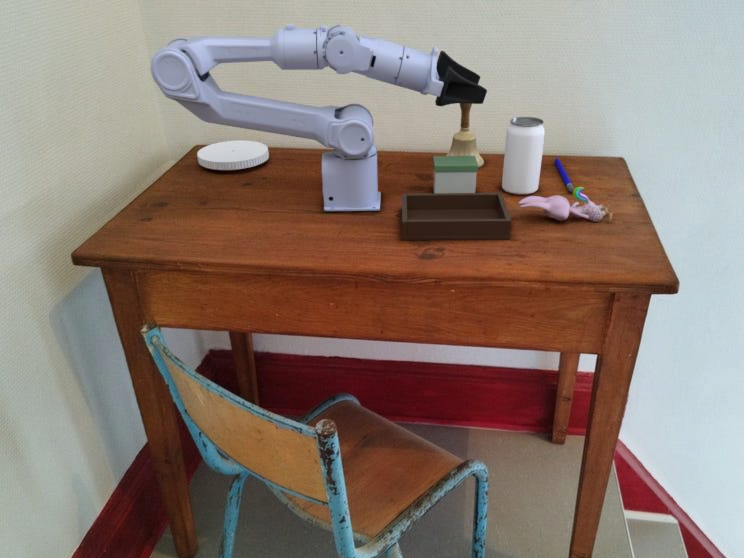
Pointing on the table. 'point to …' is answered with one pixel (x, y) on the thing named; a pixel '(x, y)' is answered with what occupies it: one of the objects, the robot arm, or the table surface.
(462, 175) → the container
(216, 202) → the table surface
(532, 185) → the can
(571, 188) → the pencil
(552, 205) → the rabbit figure
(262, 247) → the table surface
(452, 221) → the tray
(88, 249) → the table surface
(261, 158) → the plastic lid
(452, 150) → the hand bell
